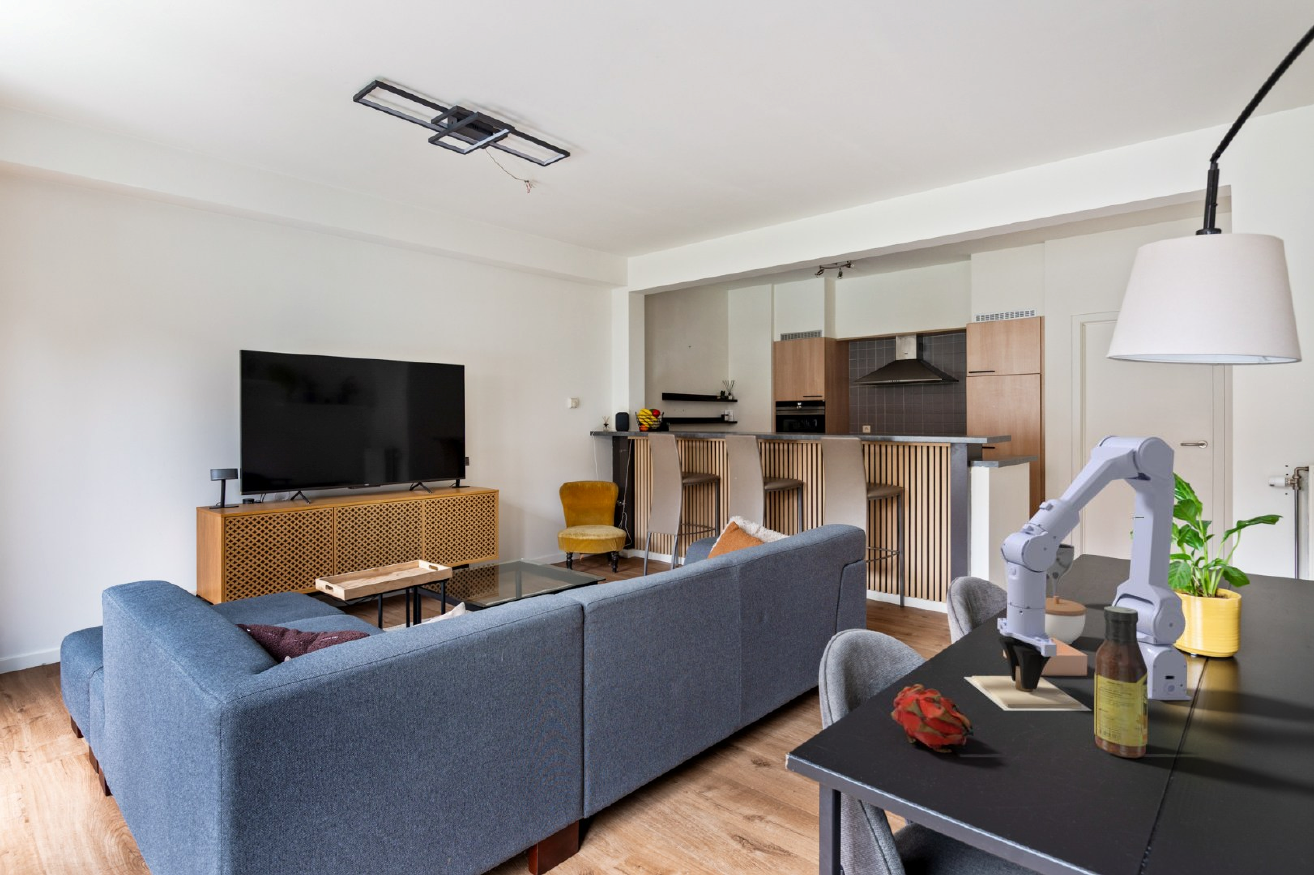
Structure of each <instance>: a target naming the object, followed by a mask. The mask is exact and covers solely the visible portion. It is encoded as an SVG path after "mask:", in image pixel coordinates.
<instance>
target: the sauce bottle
mask: <svg viewBox="0 0 1314 875" xmlns="http://www.w3.org/2000/svg"><path fill="white" fill-rule="evenodd" d="M1103 617H1104V621H1105V622H1104V624H1105V627H1104V629H1105V630H1104V640H1103V643H1102V644H1100V646H1099V647H1098V649H1097V650H1096V652H1095V671H1094V695H1093V696H1094V700H1093V702H1094V703H1093V704H1094V705H1093V706H1094V710H1093V711H1094V712H1093V713H1094V722H1093V723H1094V725H1093V726H1094V727H1093V728H1094V729H1093V731H1094V735H1095V743H1096V745H1097V747H1098V748H1100V749H1102V750H1104V751H1106V752H1108V753H1110V754H1112V755H1113V756H1118V757H1121V758H1131V759H1137V758H1142V757H1144V755H1145V754H1146V751H1147V749H1146V748H1147V747H1146V746H1147V744H1148V713H1149V712H1148V710H1149V709H1148V705H1149V704H1148V701H1149V699H1148V692H1147V689H1148V688H1147V683H1148V681H1147V678H1148V671H1147V667H1146V664H1145V661H1144V658H1143V656H1142V653H1141V650H1140V647H1139V644H1138V642H1137V622H1138V612H1137V611H1136V610H1134V609H1130V608H1125V607H1119V606H1112V605H1110V606H1104V607H1103Z"/></svg>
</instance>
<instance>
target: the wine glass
mask: <svg viewBox="0 0 1314 875" xmlns="http://www.w3.org/2000/svg"><path fill="white" fill-rule="evenodd" d="M1074 560H1075V546H1074V545H1072V544H1068V543H1062V542H1061V543H1060V544H1059V549H1058V550H1057V552H1056V559H1055V562H1054V564H1053V565H1051V566H1050V567H1049V568H1048V569H1047V570H1046V575H1048V577H1049V579H1050V580H1051V583H1052V598H1054V596H1058V586H1059V582H1060V580H1061V579H1062V577H1064V576H1065V575H1066V574H1067V573H1068V572H1070V570H1071V569H1072V566H1073V564H1074Z"/></svg>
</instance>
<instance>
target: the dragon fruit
mask: <svg viewBox="0 0 1314 875" xmlns="http://www.w3.org/2000/svg"><path fill="white" fill-rule="evenodd" d="M893 707H894V709H893V711H891V713H890V714H889V716H890V717H891V719H892V721H894V722H897V724H899V725H900V726H903V729H904V732H905V735H906V737H907V739H908V741H909V743H910V744H911V743H913V744H914V743H915V742H916V739H917V740H918V741H920V742H921V743H923V744H925V745H926V746H927V747H929V748H930V749H933V751H935V752H939V753H953V751H952V750H951V749H949V748H946V747H942V746H943V745H944V746H945V745H946V746H948V745H959V744H960V745H963V746H964V745H965V744H966V742H967V736H971V737H974V736H975V734H974V731H971V730H974V729H977V728H974V727H973V726H972V724H971V721H970V720H969V719H968V718H967V717H966V716H965V715H964V714H963V712H961V711H960V706H959V705H958V704H957V703H955V701H953V700H951V699H950V698H946V697H942V694H941V693H940V692H939V691H938V689H934V688H933V687H931V688H928V689H926V688H925V686H924V685H923V684H921V683H920V684H919V683H915V684H914V685H912V686H908V685H907V686H905V687H904V688H902V690H901V691H900V692H898V694H897V696H896V698H895V699H894V700H893ZM954 708H955V710H954Z"/></svg>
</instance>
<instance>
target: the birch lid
mask: <svg viewBox="0 0 1314 875" xmlns="http://www.w3.org/2000/svg"><path fill="white" fill-rule="evenodd" d="M971 677H972V680H973V681H975V682H976V683H977V684H978V685H980V686H981V687H982V688H983V689H985V690H986V691H987V692H989V693H990V694H991V695H992V696H994V697H995V698H996V699H997V700H999V701H1000V702H1001V703H1002V704H1004V705H1005V706H1006V707H1007V708H1082V703H1081V702H1080V701H1078V700H1077V699H1075V698H1074V697H1072V696H1071V697H1070V695H1069V694H1067V693H1066V692H1064V691H1063V692H1062V690H1061V689H1060V690H1059V688H1058V687H1057V686H1056V685H1054V684H1052V683H1051V682H1049V681H1048V680H1046V679H1044V678H1043V677H1041V676H1040V679H1039V683H1038V686H1037V688H1036V689H1024V688H1023V687H1022V684H1021V676H1020V666H1019V665H1018V666H1016V682H1014V681H1013V680H1012V677H1011V675H972V676H971ZM1050 683H1051V684H1050ZM1053 685H1054V686H1053ZM1056 687H1057V688H1056ZM1073 698H1074V699H1073ZM1076 700H1077V701H1076ZM1079 702H1080V703H1079Z"/></svg>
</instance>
